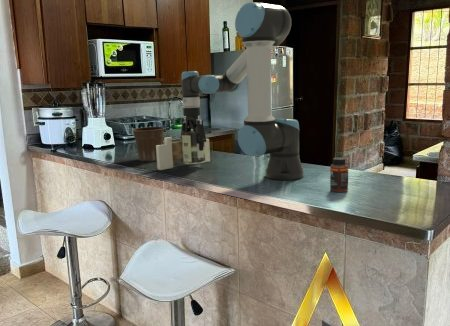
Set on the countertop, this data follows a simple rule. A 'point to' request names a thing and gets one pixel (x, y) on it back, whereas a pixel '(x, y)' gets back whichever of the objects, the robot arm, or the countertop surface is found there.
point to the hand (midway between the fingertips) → (193, 156)
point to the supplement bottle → (339, 175)
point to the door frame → (166, 154)
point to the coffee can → (191, 148)
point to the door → (177, 153)
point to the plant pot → (148, 142)
